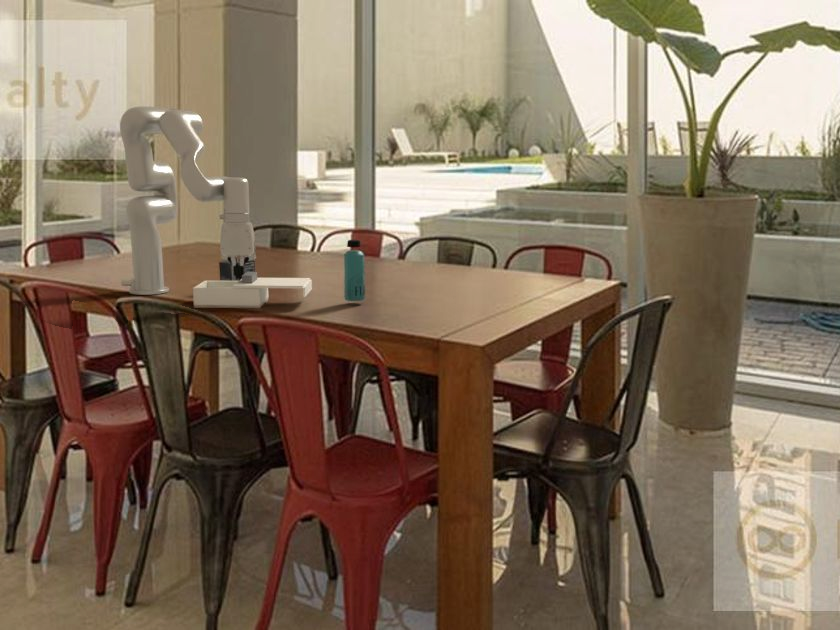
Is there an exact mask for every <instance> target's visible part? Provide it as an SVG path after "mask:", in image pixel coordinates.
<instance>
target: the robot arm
mask: <svg viewBox="0 0 840 630" xmlns="http://www.w3.org/2000/svg"><path fill="white" fill-rule="evenodd" d="M119 129H120V130H119V131H120V135H121V139H122V143H123V148H124V149H123V150H124V156H125V165H126V175H127V177H126V178H127V181H128V185H129V187H130V189H131V190H132V191H135V192H141V193H143V192H145V193H146V192H153V195H152V194H151V195H139V196H136V197H135V196H134V197H132V198H131V199H130V200H129V201H128V202H127V204H126V207H125V213H126V218H127V222H128V226H129V233H130V242H131V243H130V246H131V254H132V255H131V257H132V260H131V261H132V277H133V278H131V279H122V280H121V287H130V288H129V289H128V290H129V292H128V293H129V294H131V295H137V296H142V295H143V296H149V295H160V294H165V293H168V292H169V291H170V288H169V286H165V283H164V282H165V281H164V280H165V279H164V267H163V266H164V264H163V263H164V261H163V248H162V247H163V246H162V237H161V234H160V232H159V230H158V228H157V225H162V224H169V223H172V222H174V221H175V219H176V218H177V216H178V211H179V210H178V207H179V206H178V194H177V192H178V191H177V184H176V176H175V174H174V170H173V168H172V166H170V165H169V164H168V163H166V162H163V161H154V156H153V148H152V146H151V143H150V141H149V139H148V138H147V137H146V135H164V137H165V138H166V140H167V141H168V143H169V144H170V145H171V148H172V149H173V150H174V151H175V153H176V155H177V156H178V158H179V160H180V163H179V173H180V178H181V180H182V182H183V184H184V186H185V188H187V190H188V192H189V193H190V194H191V195H192V197H193V198H194V199H196V200H197V201H199V202H201V203H202V202H203V203H208V202H209V203H210V202H222V201H223V209H224V210H223V214H219V220H222V221H223V222H222V223H221V227H220V236H219V237H220V239H219V240H220V243H219V246H220V247H219V248H220V249H219V252H220V259H221V260H224V261H229V262H230V263H231V264H232V265H233V266H234V276H236V279H238V278H239V279H242V275H243V274H245V272H244V265H245V264H246V263H247V262H248V261H249V260H256V259H257V255H256V240H255V239H256V238H255V231H254V226H253V223H252V222H251V219H250V218H251V217H250V195H249V194H250V192H249V191H250V190H249V185H250V184H249V181H248V179H247V178H245V177H231V176H230V177H229V176H224V175H218V176H217V175H216V176H214V175H213V176H204V174H203V173H202V171H200V169H199V167H198V165H197V163H196V161H198V160H199V159H200V158H201V157H202V156H203V155H204V153H205V152H206V151H205V150H206V145H205V144H204V143H203V141H202V140H201V139H200V135H201V134H203V133H202V132H203V131H204V122H203V120H202V117H201V116H200V115H199V114H198V113H197V112H196V111H193V110H186V109H179V108H172V107H161V106H160V107H159V106H133V107H131V108H128V109H127V110H125V111H124V113H123V115H122V116H121V118H120V121H119ZM238 257H240V264H238V261H237V260H238Z"/></svg>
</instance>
